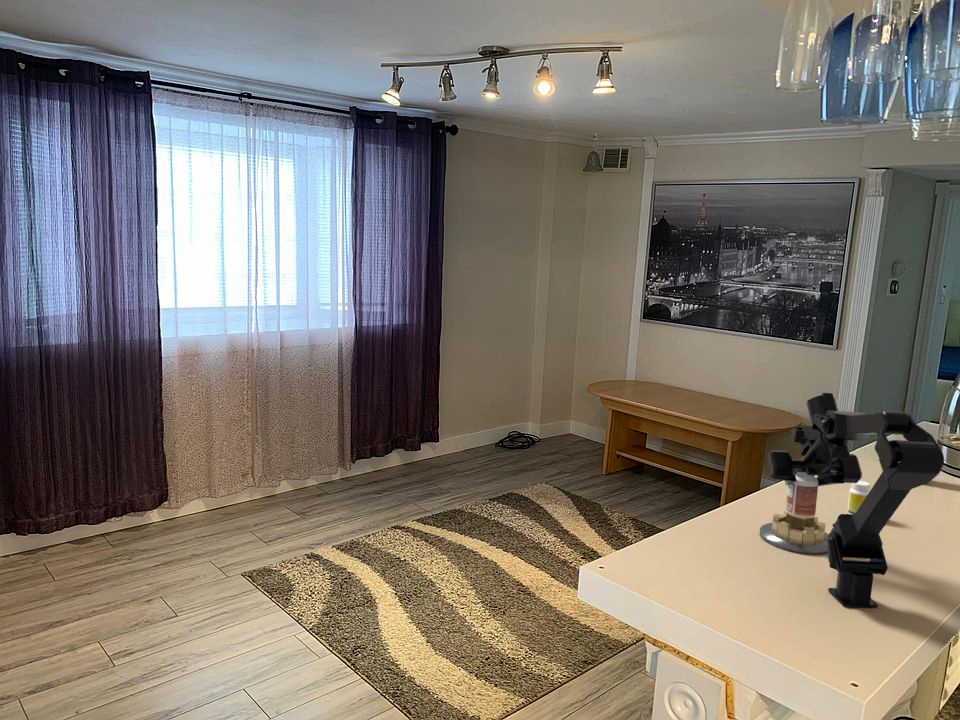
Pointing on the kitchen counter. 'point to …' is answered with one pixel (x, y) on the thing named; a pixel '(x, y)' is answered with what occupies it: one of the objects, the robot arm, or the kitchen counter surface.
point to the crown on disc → (796, 534)
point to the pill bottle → (802, 496)
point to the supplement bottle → (857, 496)
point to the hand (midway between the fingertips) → (800, 483)
